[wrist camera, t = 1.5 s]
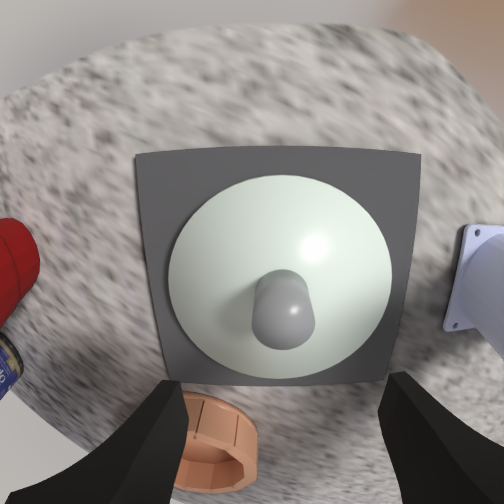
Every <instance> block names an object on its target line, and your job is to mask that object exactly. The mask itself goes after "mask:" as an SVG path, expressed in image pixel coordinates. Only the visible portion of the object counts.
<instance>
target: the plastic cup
mask: <svg viewBox="0 0 504 504" xmlns="http://www.w3.org/2000/svg"><path fill="white" fill-rule="evenodd" d="M39 268H40V258H39V254H38V249H37V245H36V243H35V241H34V239H33V237H32V235H31V233H30V231H29V230H28V229H27V228H26V227H25V226H24V225H23V223H21V222H19V221H17V220H15V219H13V218H11V219H9V218H3V219H0V328H1V327H2V326H3V324H4V323H5V321H6V320H7V319H8V317H9V316H10V315H11V313H12V312H13V311H14V310H15V308H16V306H17V304H18V303H19V301H20V300H21V299H22V298H23V297H24V295H25V294H26V293H27V292H28V291H29V290H30V289H31V287H32V286H33V283H34V282H35V281H36V279H37V276H38V274H39Z"/></svg>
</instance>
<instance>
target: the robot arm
mask: <svg viewBox="0 0 504 504" xmlns="http://www.w3.org/2000/svg"><path fill="white" fill-rule="evenodd" d="M476 230H477V233H476V234H475V231H476ZM454 324H455V325H454ZM453 325H454V326H453ZM471 328H476V329H477V330H478V331H479V332H480V333H481V334H482V336H483V337H484V338H485V339H486V340H487V341H488V343H489V344H490V345H491V346H492V347H493V348H494V350H495V351H496V352H497V353H498V354H499V355H500V357H501V358H502V359H503V360H504V226H502V225H485V224H468V225H467V226H466V227H465V229H464V234H463V240H462V246H461V252H460V257H459V262H458V267H457V272H456V277H455V281H454V285H453V289H452V294H451V298H450V301H449V305H448V309H447V313H446V316H445V320H444V323H443V329H444V330H445V331H446V332H451V331H458V330H465V329H471ZM377 412H378V417H379V422H380V427H381V431H382V436H383V439H384V442H385V445H386V448H387V451H388V454H389V456H390V459H391V462H392V465H393V468H394V471H395V474H396V477H397V480H398V484H399V487H400V491H401V497H402V503H403V504H504V447H503V446H501V445H499V444H497V443H495V442H493V441H491V440H489V439H488V438H486V437H484V436H483V435H481V434H480V433H478V432H476V431H475V430H473V429H472V428H470V427H469V426H468V425H466V424H465V423H464V422H462V421H461V420H460V419H458V418H457V417H456V416H454V415H453V414H452V413H451V412H450V411H448V410H447V409H446V408H445V407H444V406H443V405H441V404H440V403H439V402H438V401H437V400H436V399H435V398H434V397H432V396H431V395H430V394H429V393H428V392H427V391H426V390H425V389H424V388H423V387H422V386H420V385H419V384H418V383H417V382H416V381H415V380H414V379H413V378H412V377H411V376H410V375H409V374H407V373H406V372H405V371H404V372H397V373H391V374H389V377H388V381H387V384H386V387H385V390H384V394H383V397H382V400H381V403H380V406H379V409H378V411H377ZM188 425H189V416H188V412H187V408H186V404H185V401H184V397H183V393H182V389H181V385H180V381H170V380H162V381H161V382H160V383H159V384H158V385H157V387H156V388H155V389H154V390H153V391H152V393H151V394H150V395H149V396H148V397H147V398H146V400H145V401H144V402H143V403H142V404H141V405H140V406H139V407H138V409H137V410H136V411H135V412H134V413H133V414H132V415H131V416H130V417H129V418H128V419H127V420H126V421H125V422H124V423H123V424H122V425H121V426H120V427H119V428H118V429H117V430H116V431H115V432H114V433H113V434H112V435H111V436H110V437H109V438H108V439H107V440H105V441H104V442H103V443H102V444H101V445H100V446H98V447H97V448H96V449H95V450H93V451H92V452H91V453H89V454H88V455H87V456H85V457H84V458H82V459H81V460H79V461H78V462H77V463H75V464H73V465H72V466H70V467H69V468H67V469H65V470H64V471H62V472H60V473H58V474H56V475H54V476H52V477H50V478H48V479H46V480H44V481H42V482H39V483H37V484H35V485H32V486H29V487H26V488H23V489H20V490H17V491H14V492H11V493H10V494H9V496H8V498H7V500H6V502H5V504H169V503H170V499H171V494H172V490H173V487H174V483H175V480H176V476H177V473H178V469H179V466H180V462H181V459H182V455H183V451H184V448H185V444H186V438H187V432H188Z"/></svg>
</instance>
